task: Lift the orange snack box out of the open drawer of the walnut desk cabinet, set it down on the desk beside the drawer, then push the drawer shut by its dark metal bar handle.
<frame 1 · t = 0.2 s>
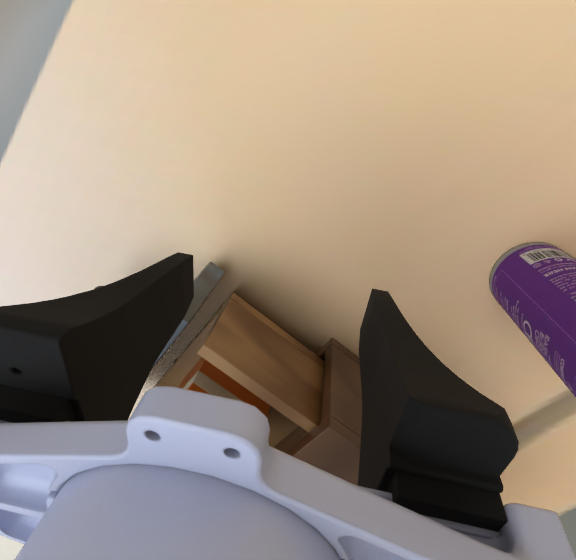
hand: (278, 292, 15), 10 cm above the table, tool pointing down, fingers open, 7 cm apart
cabinet: (340, 443, 32), on the table
container: (527, 275, 24), on the table
snack box: (228, 384, 28), point 2 cm above the table, touching drawer
drawer: (197, 391, 26), point 4 cm above the table, slide at 9.0 cm, touching snack box
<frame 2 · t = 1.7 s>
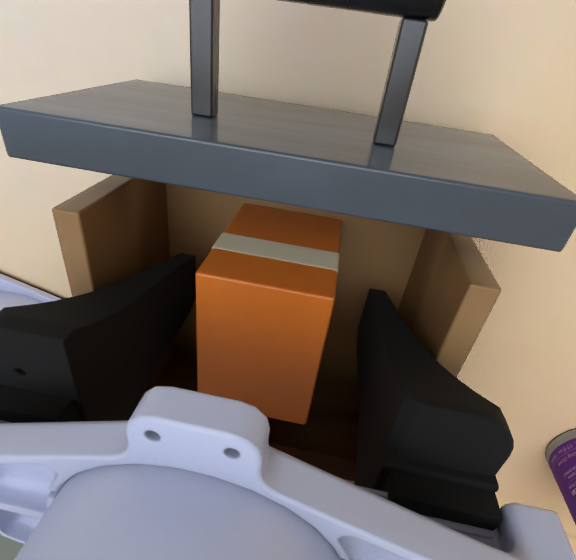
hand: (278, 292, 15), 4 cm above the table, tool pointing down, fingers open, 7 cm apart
cabinet: (269, 399, 24), on the table
snack box: (284, 270, 17), point 2 cm above the table, touching drawer
drawer: (280, 259, 14), point 4 cm above the table, slide at 9.0 cm, touching gripper, snack box
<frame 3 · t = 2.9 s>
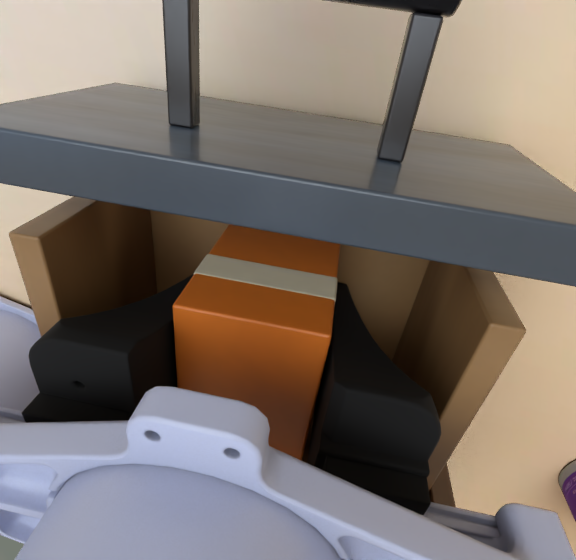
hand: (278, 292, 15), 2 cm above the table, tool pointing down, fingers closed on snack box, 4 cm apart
cabinet: (265, 419, 23), on the table
snack box: (278, 289, 15), point 2 cm above the table, touching drawer, gripper
drawer: (273, 282, 12), point 4 cm above the table, slide at 9.0 cm, touching snack box
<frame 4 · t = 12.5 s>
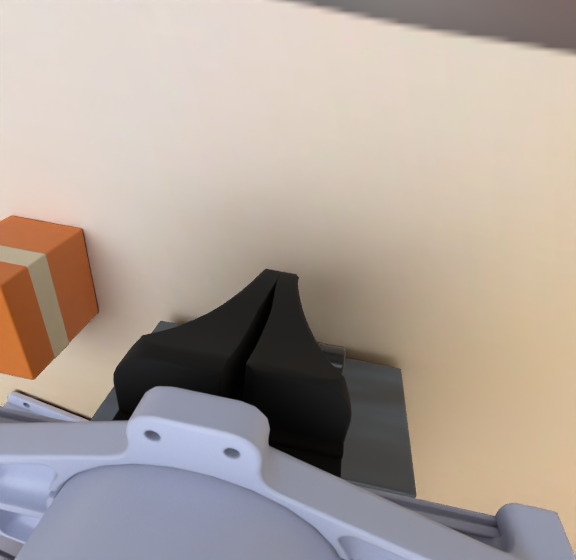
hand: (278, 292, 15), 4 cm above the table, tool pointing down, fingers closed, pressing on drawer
snack box: (57, 266, 22), on the table
drawer: (257, 449, 21), point 4 cm above the table, slide at 9.0 cm, touching gripper
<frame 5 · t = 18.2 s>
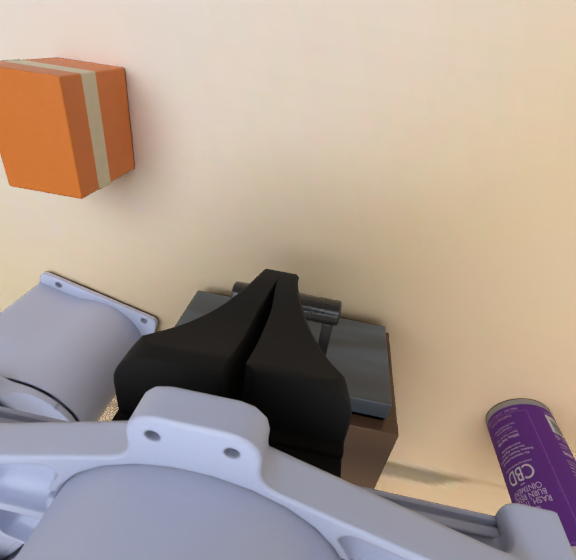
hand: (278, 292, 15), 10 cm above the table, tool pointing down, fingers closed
cabinet: (279, 381, 32), on the table
container: (516, 416, 30), on the table
snack box: (98, 116, 23), on the table
drawer: (274, 389, 27), point 4 cm above the table, slide at 0.0 cm, touching cabinet
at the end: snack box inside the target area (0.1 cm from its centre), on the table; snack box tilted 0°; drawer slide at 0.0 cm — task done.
